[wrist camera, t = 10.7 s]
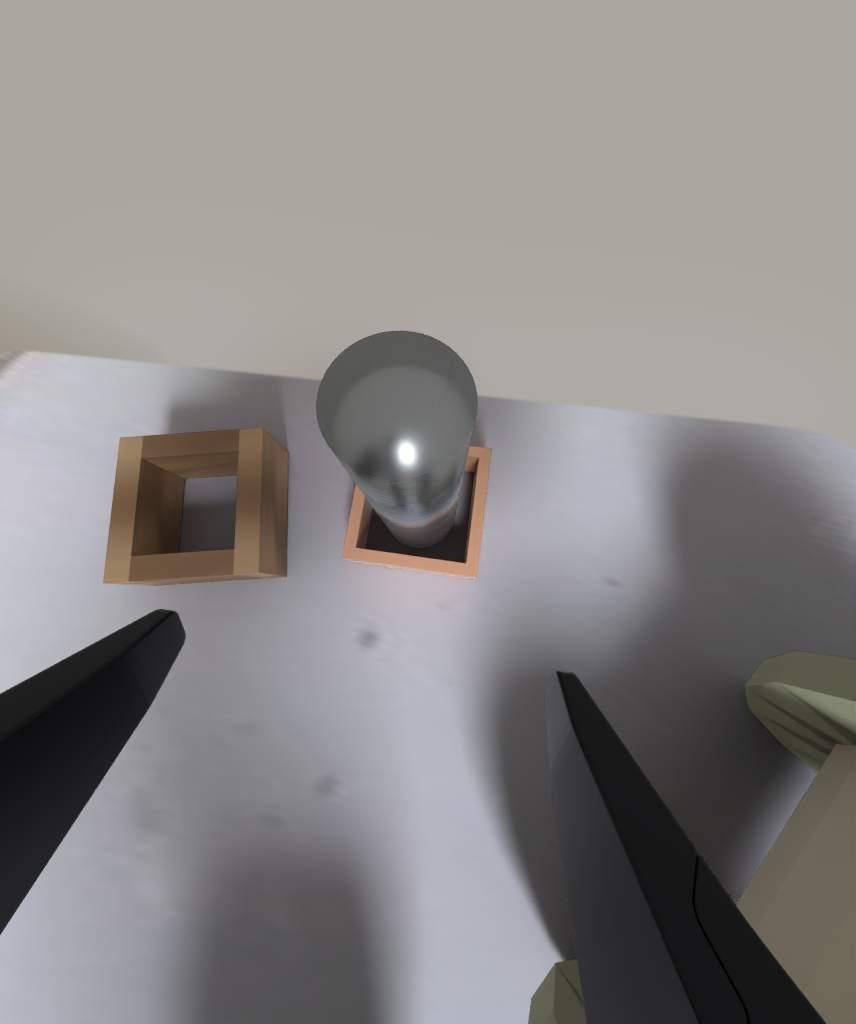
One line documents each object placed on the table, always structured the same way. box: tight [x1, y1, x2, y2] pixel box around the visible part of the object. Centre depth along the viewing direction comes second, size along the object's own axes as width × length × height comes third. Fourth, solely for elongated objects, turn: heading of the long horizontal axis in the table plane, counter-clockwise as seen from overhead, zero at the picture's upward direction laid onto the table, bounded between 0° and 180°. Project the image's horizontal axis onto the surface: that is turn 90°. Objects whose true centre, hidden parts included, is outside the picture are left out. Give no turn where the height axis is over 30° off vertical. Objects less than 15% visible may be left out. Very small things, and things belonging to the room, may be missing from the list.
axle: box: [316, 331, 477, 548], centre depth 16 cm, size 4×4×13 cm
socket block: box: [342, 446, 492, 580], centre depth 21 cm, size 7×7×2 cm
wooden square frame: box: [103, 428, 288, 585], centre depth 21 cm, size 7×7×4 cm
